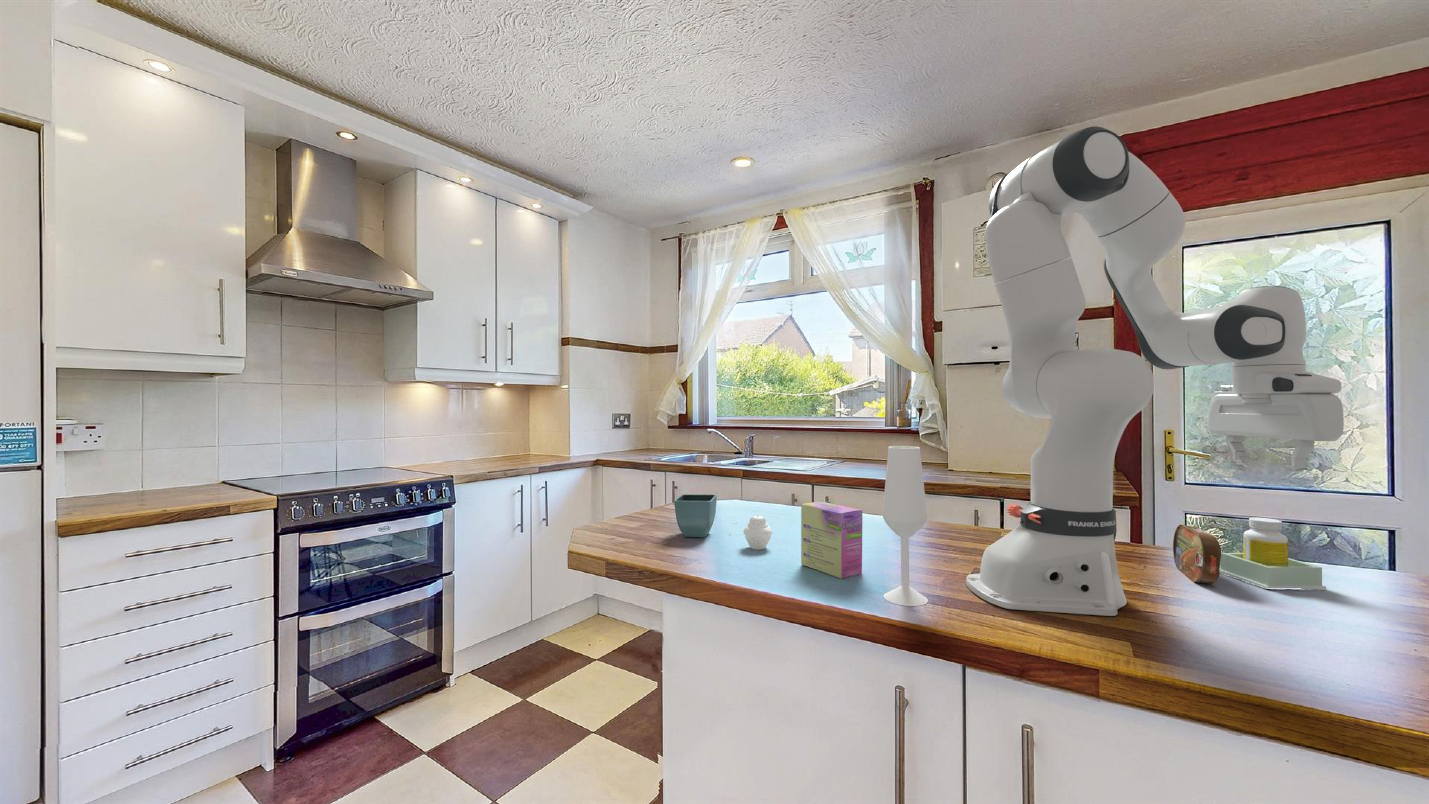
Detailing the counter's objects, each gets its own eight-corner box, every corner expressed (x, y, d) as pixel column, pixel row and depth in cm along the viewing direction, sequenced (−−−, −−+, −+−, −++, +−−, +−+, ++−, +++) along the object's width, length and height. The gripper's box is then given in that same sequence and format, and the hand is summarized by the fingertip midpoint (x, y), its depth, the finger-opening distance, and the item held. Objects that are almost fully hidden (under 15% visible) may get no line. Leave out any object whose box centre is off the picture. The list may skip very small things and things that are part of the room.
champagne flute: (884, 588, 91) (883, 445, 91) (928, 593, 89) (926, 445, 89) (881, 603, 85) (880, 448, 85) (928, 608, 82) (926, 449, 82)
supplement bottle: (1297, 583, 90) (1297, 523, 90) (1258, 581, 91) (1258, 522, 91) (1271, 573, 95) (1271, 517, 95) (1235, 571, 97) (1234, 515, 97)
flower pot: (673, 539, 125) (673, 500, 125) (682, 530, 134) (681, 493, 134) (711, 540, 124) (711, 501, 124) (717, 531, 133) (717, 494, 133)
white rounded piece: (757, 542, 122) (757, 511, 122) (778, 547, 117) (778, 515, 117) (737, 547, 118) (737, 515, 118) (758, 553, 113) (758, 519, 113)
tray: (1267, 590, 89) (1267, 568, 89) (1217, 572, 98) (1217, 552, 98) (1326, 590, 88) (1325, 568, 88) (1270, 572, 98) (1270, 552, 98)
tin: (1171, 564, 103) (1171, 519, 103) (1192, 566, 102) (1192, 521, 102) (1200, 588, 90) (1199, 537, 90) (1225, 591, 89) (1224, 539, 89)
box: (863, 573, 99) (862, 508, 99) (841, 579, 96) (841, 512, 96) (822, 560, 108) (821, 500, 108) (800, 565, 105) (800, 503, 105)
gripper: (1196, 385, 104) (1196, 458, 104) (1310, 381, 83) (1310, 471, 83) (1231, 385, 103) (1230, 458, 103) (1353, 381, 83) (1353, 472, 83)
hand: (1267, 464), depth 93 cm, fingers open, 8 cm apart
